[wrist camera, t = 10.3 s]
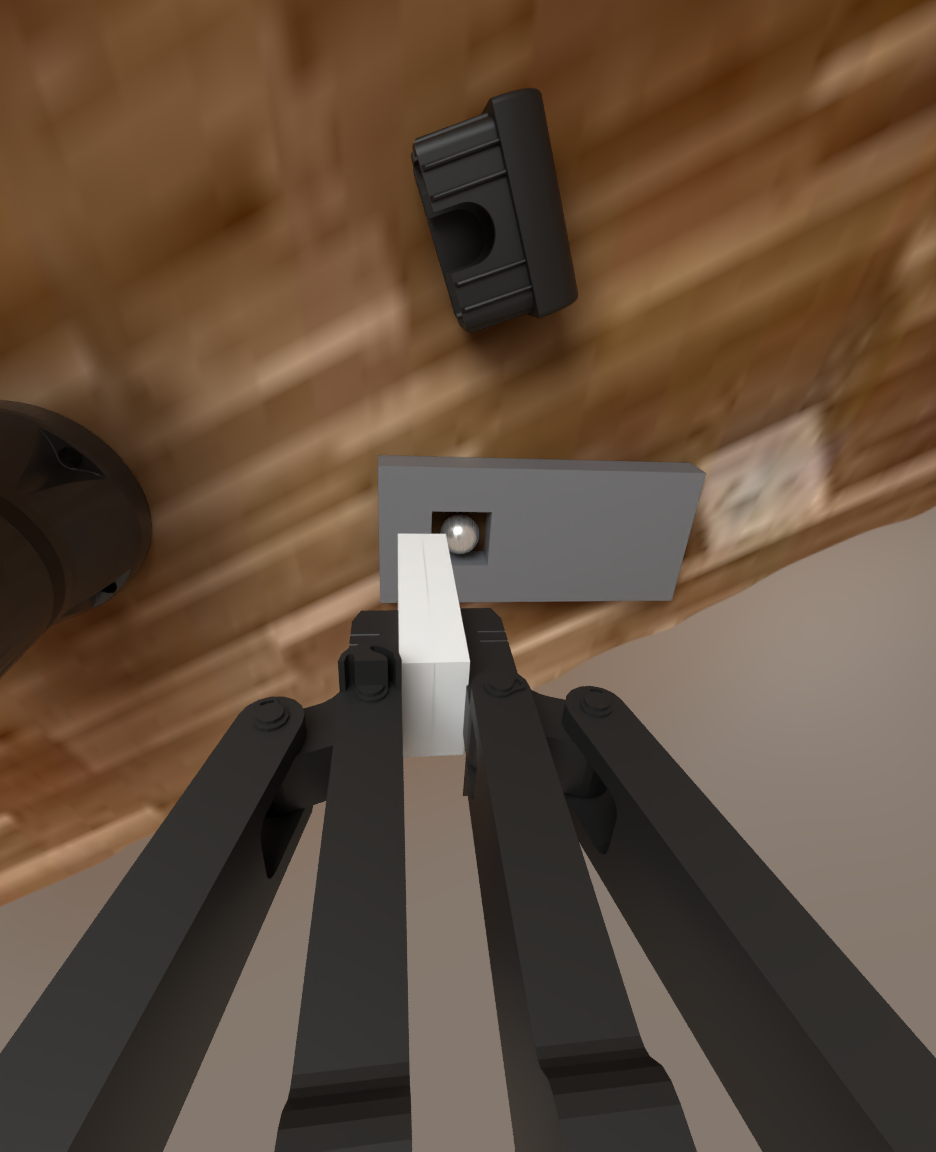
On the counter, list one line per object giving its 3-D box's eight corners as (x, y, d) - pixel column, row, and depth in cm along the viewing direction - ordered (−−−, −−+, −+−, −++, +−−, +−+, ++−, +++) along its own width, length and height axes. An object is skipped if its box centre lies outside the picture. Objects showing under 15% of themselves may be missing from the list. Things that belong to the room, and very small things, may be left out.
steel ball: (476, 544, 45) (439, 543, 45) (479, 509, 43) (440, 507, 43) (479, 561, 42) (439, 560, 42) (482, 524, 41) (440, 523, 41)
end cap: (561, 295, 37) (592, 300, 31) (459, 330, 37) (471, 342, 32) (524, 108, 32) (553, 73, 26) (407, 151, 32) (410, 126, 27)
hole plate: (381, 587, 46) (380, 602, 44) (378, 455, 41) (377, 465, 38) (659, 585, 49) (671, 600, 47) (690, 462, 44) (706, 473, 42)
